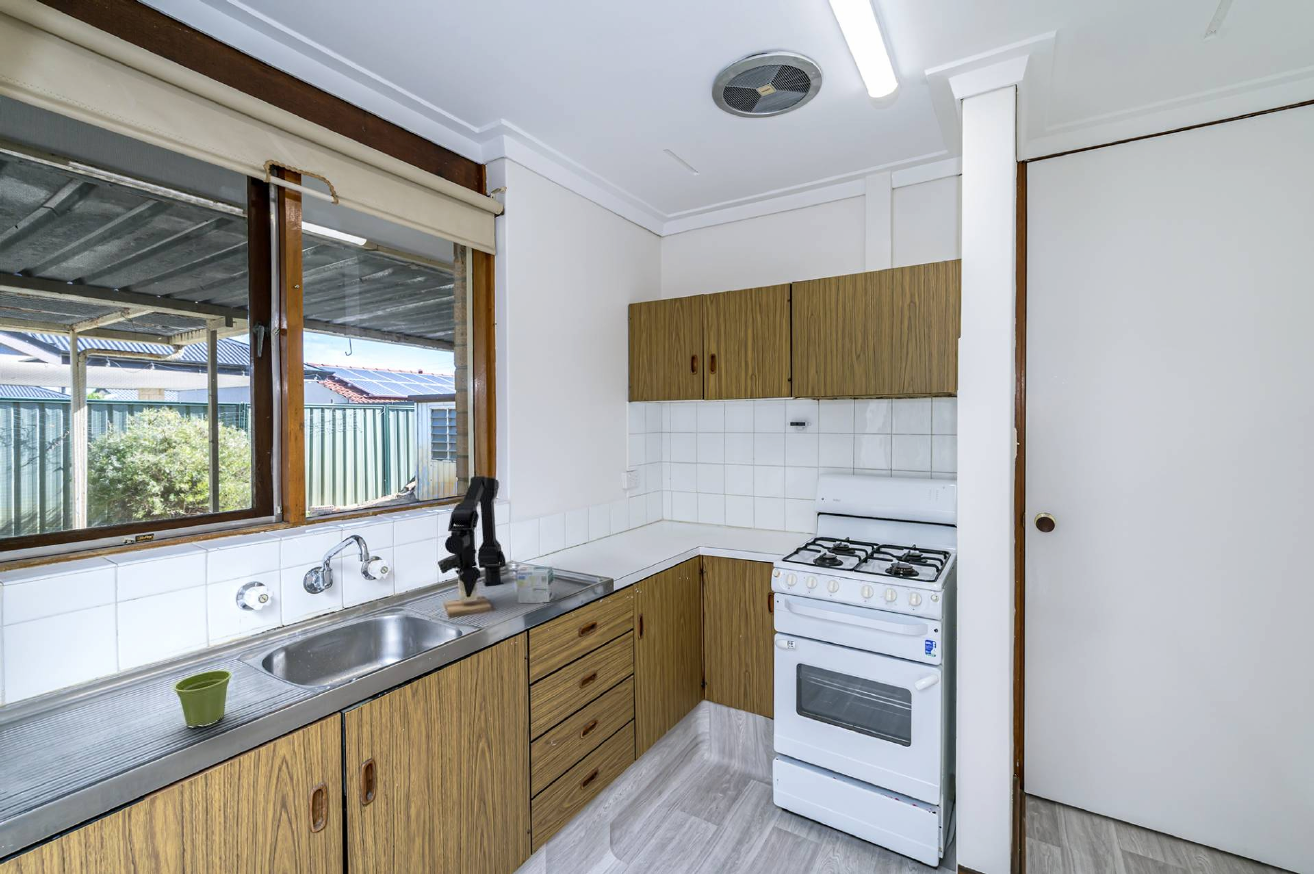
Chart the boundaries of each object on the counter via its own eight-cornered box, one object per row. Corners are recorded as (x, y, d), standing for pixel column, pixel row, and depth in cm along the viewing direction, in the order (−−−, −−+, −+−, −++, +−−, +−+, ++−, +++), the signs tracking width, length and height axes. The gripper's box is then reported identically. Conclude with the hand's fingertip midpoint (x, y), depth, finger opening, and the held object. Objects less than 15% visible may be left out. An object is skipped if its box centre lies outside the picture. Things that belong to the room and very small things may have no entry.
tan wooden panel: (444, 607, 192) (444, 601, 192) (485, 601, 198) (485, 595, 197) (448, 619, 180) (448, 613, 180) (492, 612, 186) (491, 606, 186)
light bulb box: (554, 597, 199) (553, 565, 199) (549, 603, 192) (548, 570, 192) (523, 597, 200) (522, 565, 199) (517, 603, 193) (516, 571, 193)
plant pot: (187, 738, 114) (185, 694, 114) (167, 726, 119) (165, 683, 119) (241, 717, 122) (239, 676, 122) (221, 706, 127) (219, 666, 127)
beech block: (458, 598, 190) (458, 577, 190) (474, 596, 192) (474, 574, 192) (460, 602, 186) (459, 580, 185) (476, 600, 188) (476, 578, 187)
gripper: (436, 543, 193) (438, 590, 194) (441, 555, 176) (443, 607, 177) (471, 540, 198) (473, 585, 199) (479, 551, 181) (481, 601, 182)
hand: (467, 594), depth 189 cm, fingers closed on beech block, 5 cm apart
